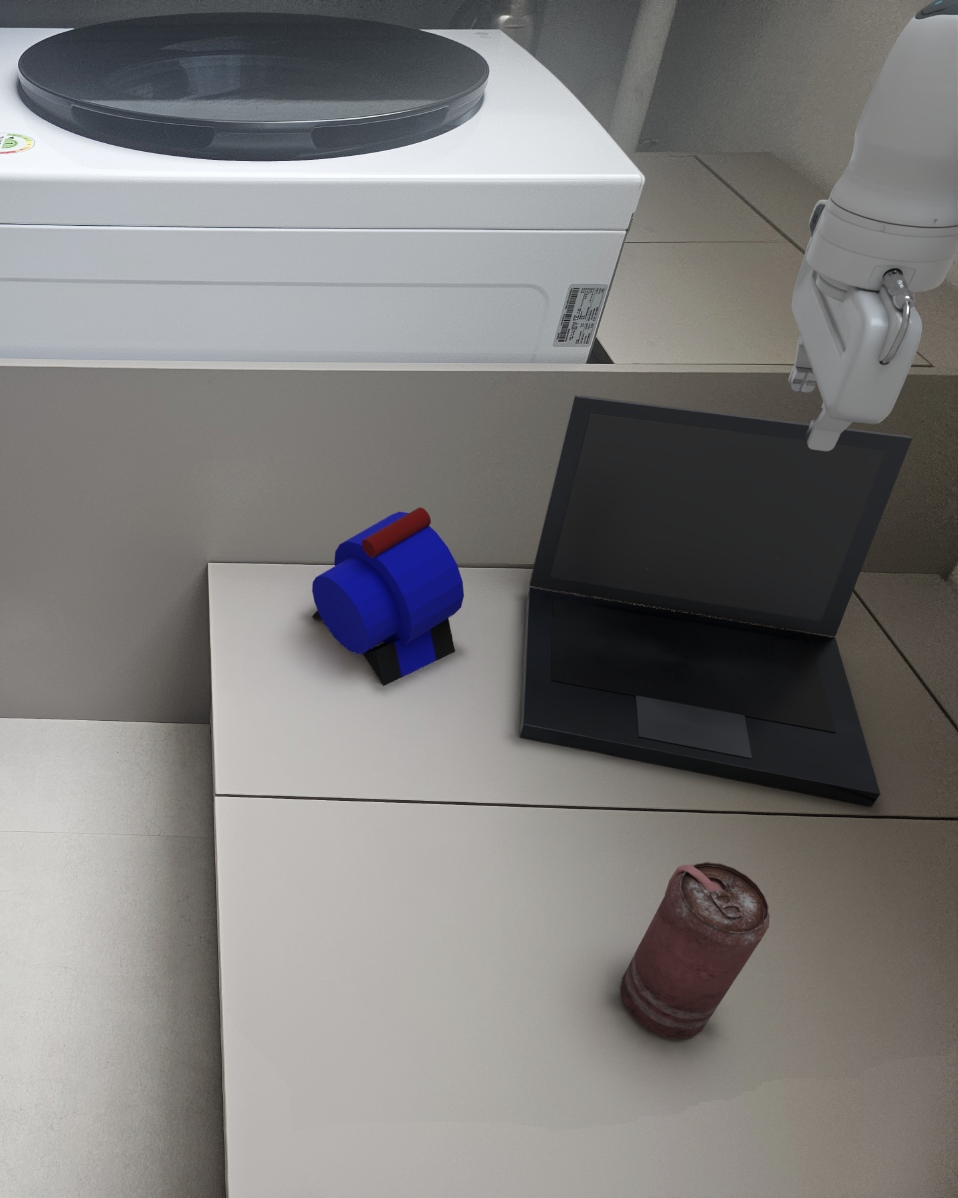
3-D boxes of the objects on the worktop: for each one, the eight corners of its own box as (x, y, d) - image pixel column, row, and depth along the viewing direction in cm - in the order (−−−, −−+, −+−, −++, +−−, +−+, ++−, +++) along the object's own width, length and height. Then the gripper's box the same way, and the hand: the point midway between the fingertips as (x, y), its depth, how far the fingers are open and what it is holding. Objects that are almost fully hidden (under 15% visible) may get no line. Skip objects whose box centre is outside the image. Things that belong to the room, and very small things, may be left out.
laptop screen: (913, 438, 96) (909, 435, 97) (574, 396, 103) (574, 394, 104) (835, 637, 106) (833, 633, 106) (529, 586, 112) (529, 583, 113)
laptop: (872, 807, 91) (881, 793, 90) (519, 737, 98) (523, 723, 97) (828, 650, 107) (836, 636, 106) (525, 599, 114) (529, 586, 112)
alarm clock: (459, 649, 108) (486, 533, 98) (367, 693, 103) (386, 576, 93) (382, 585, 116) (400, 472, 106) (293, 624, 111) (304, 509, 101)
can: (638, 948, 81) (695, 839, 72) (719, 1003, 78) (789, 895, 69) (600, 1000, 78) (655, 892, 69) (683, 1059, 75) (752, 954, 66)
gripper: (971, 311, 66) (878, 492, 75) (901, 202, 81) (830, 364, 90) (860, 300, 67) (782, 478, 76) (812, 195, 82) (750, 355, 91)
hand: (808, 415), depth 83 cm, fingers open, 8 cm apart
